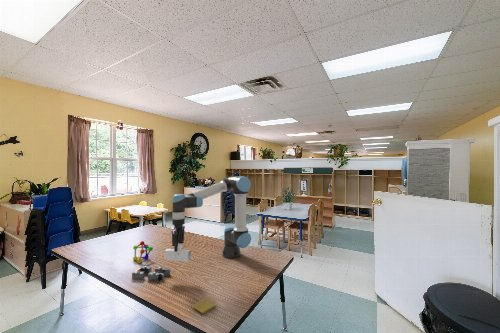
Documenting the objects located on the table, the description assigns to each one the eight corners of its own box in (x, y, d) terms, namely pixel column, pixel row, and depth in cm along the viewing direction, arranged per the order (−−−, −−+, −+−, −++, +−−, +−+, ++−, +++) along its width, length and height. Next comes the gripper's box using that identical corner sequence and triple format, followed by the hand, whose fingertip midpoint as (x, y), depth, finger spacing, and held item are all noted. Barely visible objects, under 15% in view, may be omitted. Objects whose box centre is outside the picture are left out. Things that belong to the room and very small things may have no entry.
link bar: (190, 259, 141) (190, 250, 141) (188, 261, 138) (188, 252, 138) (167, 257, 144) (167, 248, 144) (164, 259, 140) (164, 250, 141)
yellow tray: (202, 316, 104) (202, 312, 104) (191, 309, 110) (192, 305, 110) (216, 308, 110) (216, 304, 110) (205, 301, 116) (205, 297, 116)
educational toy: (155, 260, 172) (156, 241, 172) (140, 266, 161) (141, 246, 161) (143, 254, 180) (144, 236, 179) (127, 260, 169) (129, 240, 168)
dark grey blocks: (171, 274, 146) (171, 267, 146) (162, 281, 136) (162, 274, 136) (142, 272, 149) (142, 265, 149) (132, 279, 139) (132, 271, 139)
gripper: (179, 215, 150) (179, 250, 150) (166, 220, 134) (165, 259, 133) (189, 216, 149) (189, 250, 148) (177, 221, 133) (177, 260, 132)
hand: (178, 254), depth 141 cm, fingers closed on link bar, 4 cm apart
